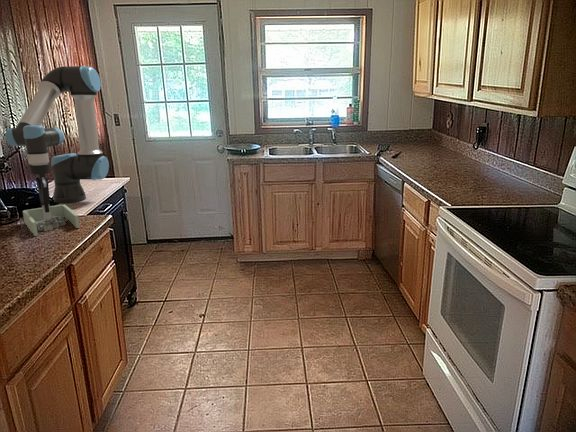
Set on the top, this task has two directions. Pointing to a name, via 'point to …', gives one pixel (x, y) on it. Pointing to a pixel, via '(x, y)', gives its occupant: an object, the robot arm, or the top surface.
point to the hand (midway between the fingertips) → (47, 219)
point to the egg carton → (51, 223)
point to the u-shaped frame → (58, 211)
